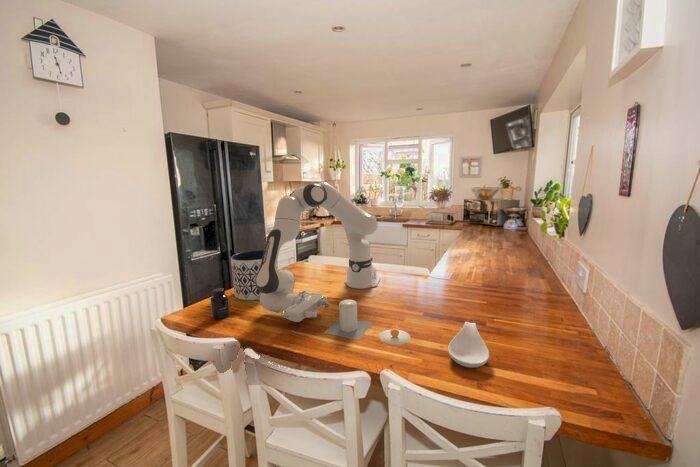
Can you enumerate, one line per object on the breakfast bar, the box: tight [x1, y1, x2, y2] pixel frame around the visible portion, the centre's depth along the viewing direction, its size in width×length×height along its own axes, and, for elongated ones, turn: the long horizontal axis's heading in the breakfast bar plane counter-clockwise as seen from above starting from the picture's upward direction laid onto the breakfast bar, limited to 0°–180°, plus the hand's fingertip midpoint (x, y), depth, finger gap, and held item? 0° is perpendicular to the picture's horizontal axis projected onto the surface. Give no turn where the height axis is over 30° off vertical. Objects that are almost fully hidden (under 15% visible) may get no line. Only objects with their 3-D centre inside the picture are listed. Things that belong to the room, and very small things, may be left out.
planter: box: [230, 249, 279, 301], centre depth 156 cm, size 22×22×20 cm
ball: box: [390, 327, 399, 337], centre depth 107 cm, size 3×3×3 cm
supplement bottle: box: [209, 287, 230, 320], centre depth 129 cm, size 7×7×12 cm
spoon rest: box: [447, 321, 490, 369], centre depth 98 cm, size 24×12×7 cm, turn 158°
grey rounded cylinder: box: [338, 299, 358, 332], centre depth 114 cm, size 6×6×10 cm
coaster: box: [378, 328, 412, 346], centre depth 108 cm, size 11×11×1 cm
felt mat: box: [323, 317, 373, 341], centre depth 115 cm, size 14×14×1 cm
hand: (323, 309), depth 119 cm, fingers open, 8 cm apart
